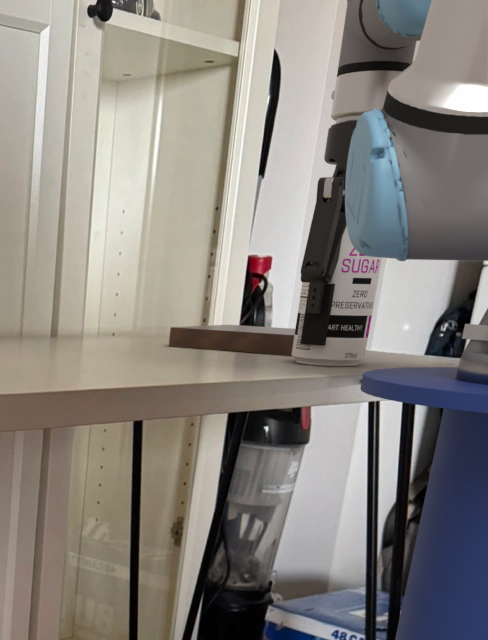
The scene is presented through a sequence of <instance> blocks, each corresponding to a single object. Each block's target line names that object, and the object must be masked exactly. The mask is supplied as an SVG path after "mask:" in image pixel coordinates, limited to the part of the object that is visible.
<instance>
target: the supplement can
mask: <svg viewBox="0 0 488 640" xmlns="http://www.w3.org/2000/svg"><path fill="white" fill-rule="evenodd" d="M382 262H383V258H382V257H370V256H365V255H363V254H361V253H359V252H358V251H357V250H356V249H355V248H354V246H353V244H352V242H351V240H350V237H349V234H348V229H347V226H346V228H345V231H344V234H343V236H342V241H341V247H340V253H339V259H338V263H337V266H336V269H335V271H334V274H333V277H332V280H331V282H330V283H327V284H335V288H334V295H333V301H332V307H331V313H330V319H329V325H328V332H327V338H326V344H325V345H324V346H320V345H306V344H300V342H301V336H302V329H303V323H304V316H305V309H306V303H307V296H308V290H309V283H308V282H301V290H300V295H299V303H298V309H297V316H296V322H295V328H294V329H295V335H294V342H293V348H292V356H291V357H292V358H293V359H295V363H297V364H302V365H309V366H310V365H312V366H324V367H325V366H327V367H355V366H358V365H359V363H360V362H361V361H363V360H365V356H366V350H367V345H368V340H369V335H370V328H371V324H372V323H371V322H372V317H373V312H374V306H375V300H376V296H377V289H378V284H379V278H380V272H381V266H382ZM311 263H312V262H311Z"/></svg>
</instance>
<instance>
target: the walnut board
mask: <svg viewBox="0 0 488 640" xmlns="http://www.w3.org/2000/svg"><path fill="white" fill-rule="evenodd" d="M294 335H295V328H290V327H273V326H255V325H241V324H239V325H238V324H213V325H192V326H189V325H188V326H171V327H170V330H169V338H168V347H175V348H188V349H199V350H200V349H201V350H212V351H213V350H214V351H225V352H226V351H227V352H239V353H251V354H265V355H276V356H277V355H278V356H290V357H293V356H292V348H293V342H294Z"/></svg>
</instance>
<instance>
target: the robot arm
mask: <svg viewBox="0 0 488 640" xmlns="http://www.w3.org/2000/svg"><path fill="white" fill-rule="evenodd" d="M417 42H419V44H418V47H417V46H416V45H417ZM416 47H417V52H416ZM339 52H340V53H339V59H338V65H337V73H336V74H337V75H336V80H335V86H334V90H332V91H331V95H330V98H331V99H332V107H331V113H330V118H331V119H332V120H333V121H335V123H334V124H332V125H331V126H330V127H329V128H328V130H327V136H326V143H325V150H324V156H323V158H324V161H325V163H326V164H329V165H332V166H333V165H334V166H335V167H334V172H333V173H332V176H328V177H327V176H326V177H325V176H324V177H323V176H322V177H319V179H318V180H317V187H316V199H315V200H316V201H315V205H314V210H313V215H312V219H311V222H310V227H309V232H308V236H307V240H306V246H305V249H304V253H303V259H302V263H301V267H300V282H301V283H302V282H308V283H309V290H308V296H307V303H306V309H305V316H304V323H303V329H302V336H301V342H300V344H306V345H320V346H324V345H325V344H326V338H327V332H328V325H329V319H330V313H331V307H332V301H333V295H334V288H335V284H327V283H330V282H331V280H332V277H333V274H334V271H335V269H336V266H337V263H338V259H339V253H340V247H341V241H342V236H343V234H344V231H345V228H346V226H347V229H348V234H349V237H350V240H351V242H352V244H353V246H354V248H355V249H356V250H357V251H358V252H359V253H361V254H363V255H365V256H370V257H382V259H394V260H395V259H396V260H397V261H398V262H406V261H407V260H413V261H414V260H417V261H422V260H423V261H477V262H478V261H479V262H481V261H482V262H483V261H485V262H488V0H346V11H345V17H344V23H343V31H342V38H341V45H340V51H339ZM415 52H416V54H415ZM414 57H415V58H414ZM311 262H312V263H311ZM461 336H462V337H461V339H462V340H469V341H468V343H467V344H466V346H465V349H464V350H463V352H462V354H461V357H460V358H459V360H458V365H457V368H458V370H457V374H456V378H457V379H458V380H461V381H466V382H471V383H477V384H484V385H488V307H487V308H486V310H485V312H484V314H483V316H482V318H481V320H480V321H479V323H478V324H477V323H476V324H475V323H465V324H464V328H463V332H462V335H461Z"/></svg>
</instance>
